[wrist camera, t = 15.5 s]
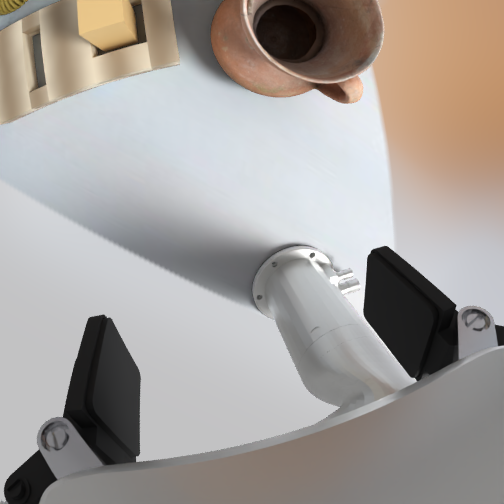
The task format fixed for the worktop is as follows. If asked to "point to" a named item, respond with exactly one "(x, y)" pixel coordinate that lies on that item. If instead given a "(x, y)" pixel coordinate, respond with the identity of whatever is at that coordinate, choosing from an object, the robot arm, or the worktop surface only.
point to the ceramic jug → (298, 45)
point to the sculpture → (10, 5)
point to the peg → (107, 23)
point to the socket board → (75, 56)
